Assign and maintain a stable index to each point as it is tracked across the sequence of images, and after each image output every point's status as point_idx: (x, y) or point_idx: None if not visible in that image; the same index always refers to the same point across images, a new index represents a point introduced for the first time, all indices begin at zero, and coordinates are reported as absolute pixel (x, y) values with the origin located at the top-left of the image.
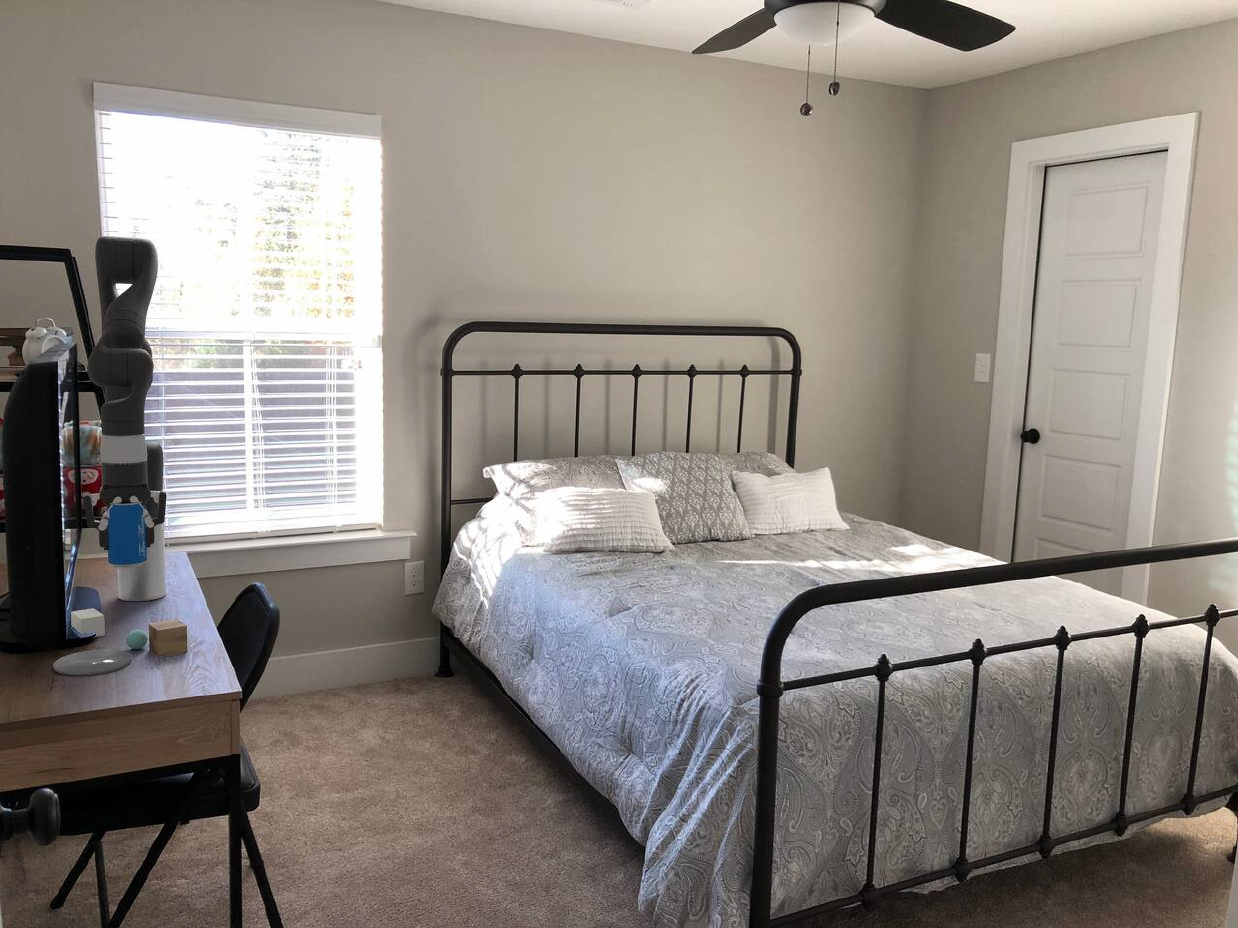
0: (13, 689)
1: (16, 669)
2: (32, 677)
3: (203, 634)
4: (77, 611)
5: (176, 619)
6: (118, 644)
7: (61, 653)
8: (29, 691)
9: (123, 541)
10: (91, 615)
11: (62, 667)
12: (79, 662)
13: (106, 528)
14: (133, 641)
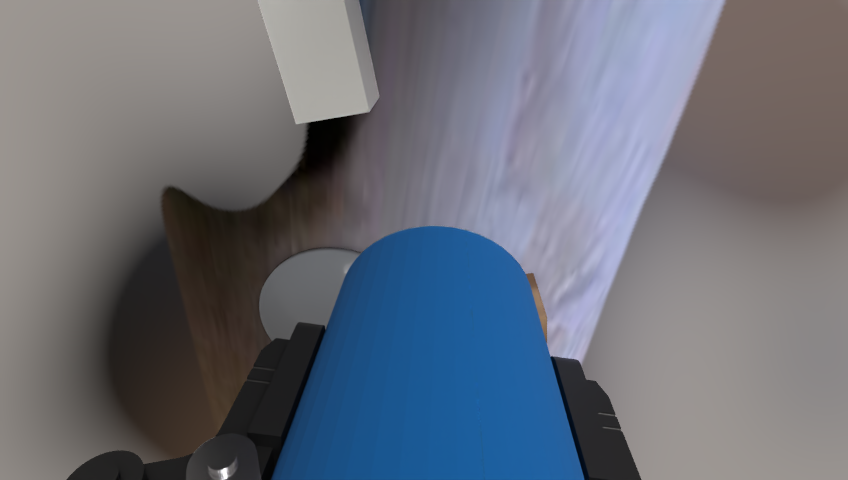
0: (206, 375)
1: (188, 277)
2: (229, 334)
3: (621, 223)
4: (279, 3)
5: (542, 320)
6: (404, 205)
7: (270, 213)
8: (235, 393)
9: None
10: (328, 93)
11: (278, 331)
12: (310, 318)
13: (273, 437)
14: None
